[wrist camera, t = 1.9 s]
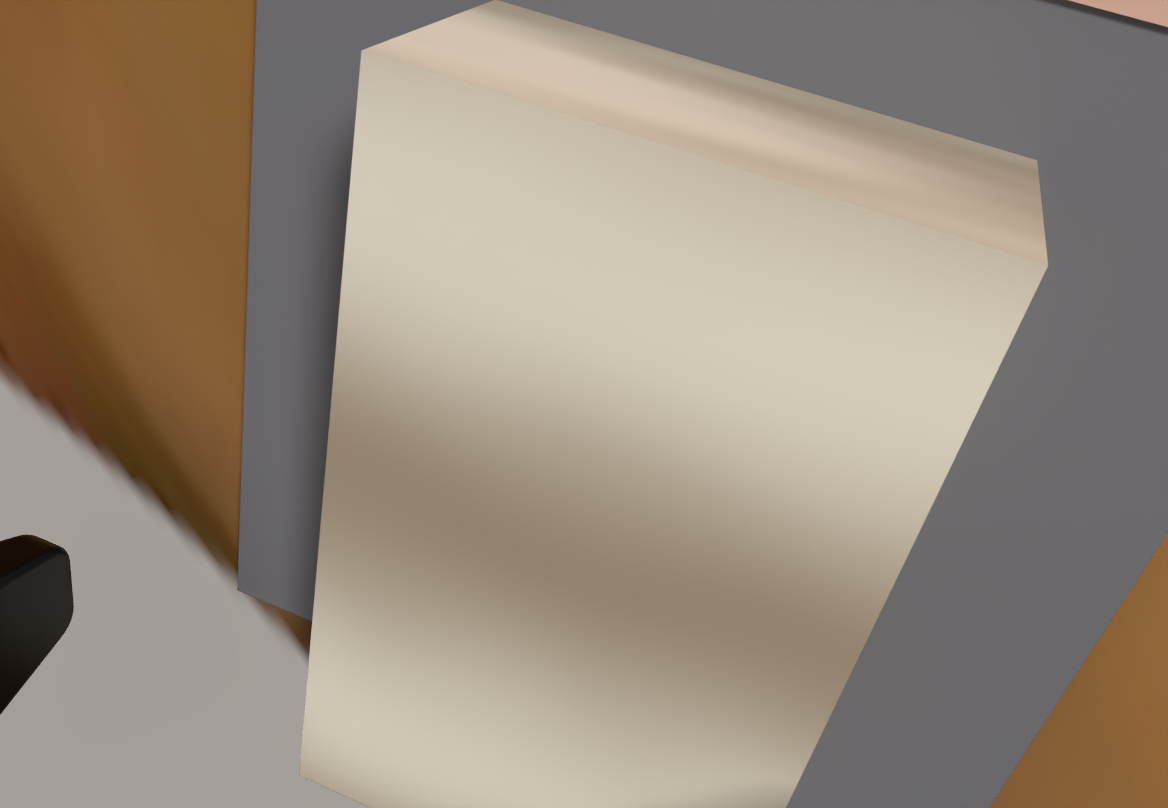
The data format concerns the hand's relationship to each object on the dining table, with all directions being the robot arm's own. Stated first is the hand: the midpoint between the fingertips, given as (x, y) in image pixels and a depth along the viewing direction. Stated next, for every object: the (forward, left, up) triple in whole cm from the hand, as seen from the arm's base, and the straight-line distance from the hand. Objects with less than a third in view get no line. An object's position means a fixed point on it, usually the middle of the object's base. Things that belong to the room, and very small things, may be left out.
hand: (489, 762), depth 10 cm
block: (0, 0, -5) cm, 5 cm away
